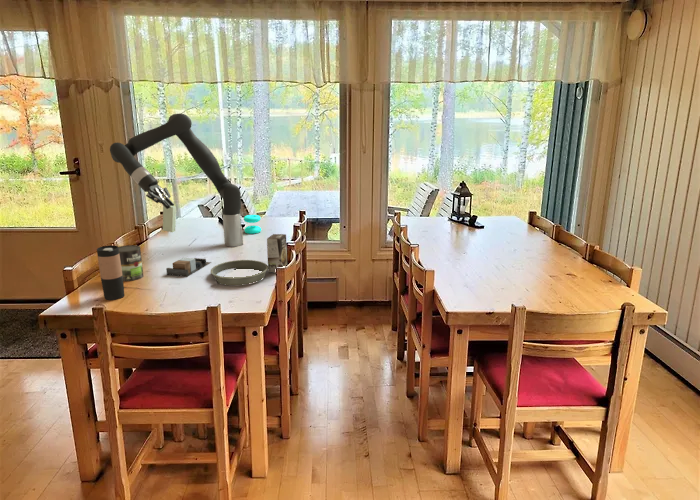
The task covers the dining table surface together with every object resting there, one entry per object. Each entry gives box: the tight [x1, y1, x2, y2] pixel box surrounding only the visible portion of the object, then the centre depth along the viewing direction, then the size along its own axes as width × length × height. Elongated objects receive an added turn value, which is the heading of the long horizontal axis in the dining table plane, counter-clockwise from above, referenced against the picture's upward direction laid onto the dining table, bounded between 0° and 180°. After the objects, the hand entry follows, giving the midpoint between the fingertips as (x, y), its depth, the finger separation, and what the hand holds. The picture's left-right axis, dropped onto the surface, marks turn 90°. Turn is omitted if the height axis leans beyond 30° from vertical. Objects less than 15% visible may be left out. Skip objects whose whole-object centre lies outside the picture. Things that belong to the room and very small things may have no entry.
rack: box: [165, 257, 212, 278], centre depth 218 cm, size 21×10×4 cm, turn 167°
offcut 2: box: [177, 257, 196, 272], centre depth 215 cm, size 4×6×5 cm, turn 77°
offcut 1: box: [172, 260, 191, 273], centre depth 211 cm, size 4×6×5 cm, turn 77°
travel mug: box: [96, 245, 125, 301], centre depth 184 cm, size 8×8×20 cm
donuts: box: [243, 214, 262, 235], centre depth 285 cm, size 10×10×10 cm
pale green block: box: [162, 205, 177, 233], centre depth 221 cm, size 2×5×12 cm, turn 77°
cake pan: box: [210, 259, 268, 286], centre depth 209 cm, size 25×25×4 cm
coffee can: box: [118, 244, 144, 282], centre depth 205 cm, size 10×10×14 cm
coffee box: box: [266, 233, 288, 274], centre depth 217 cm, size 9×6×16 cm
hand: (170, 206), depth 219 cm, fingers closed on pale green block, 2 cm apart
